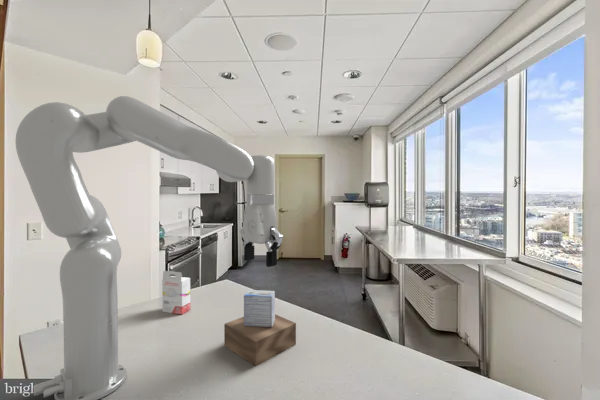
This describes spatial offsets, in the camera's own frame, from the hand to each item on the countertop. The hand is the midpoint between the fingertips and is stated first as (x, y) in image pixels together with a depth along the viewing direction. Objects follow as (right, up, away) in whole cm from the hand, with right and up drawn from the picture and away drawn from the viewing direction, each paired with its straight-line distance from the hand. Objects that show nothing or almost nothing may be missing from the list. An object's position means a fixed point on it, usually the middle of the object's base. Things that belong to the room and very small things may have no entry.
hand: (259, 262), depth 79 cm
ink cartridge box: (-33, -23, +24) cm, 47 cm away
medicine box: (0, -17, 0) cm, 17 cm away
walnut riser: (0, -23, 0) cm, 23 cm away
